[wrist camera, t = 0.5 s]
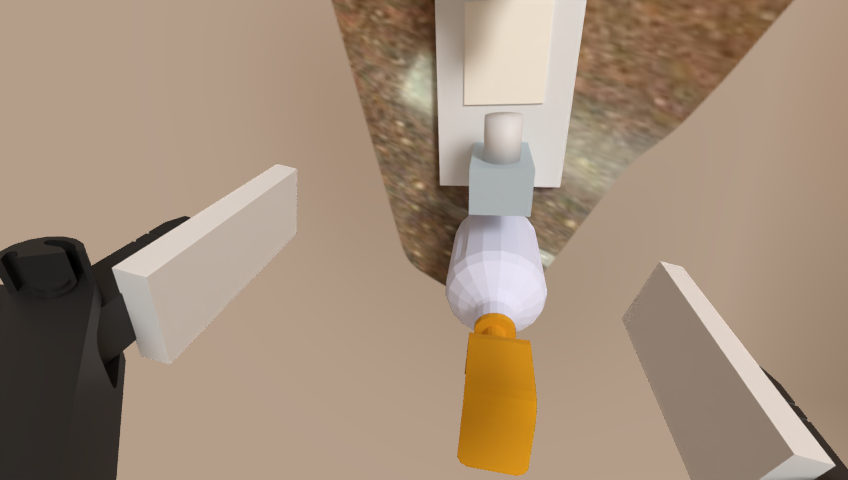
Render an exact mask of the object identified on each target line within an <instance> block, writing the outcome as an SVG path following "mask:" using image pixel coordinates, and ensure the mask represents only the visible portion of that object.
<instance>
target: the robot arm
mask: <svg viewBox="0 0 848 480" xmlns="http://www.w3.org/2000/svg"><path fill="white" fill-rule="evenodd" d="M296 233H297V169H294V168H291V167H286V166H283V165H279V164H276V165H275V166H273V167H271V168H270V169H268V170H267V171H265V172H264V173H262V174H260V175H259V176H257V177H255V178H254V179H252V180H251V181H249V182H248V183H246V184H244V185H243V186H241V187H240V188H238V189H236V190H235V191H233V192H232V193H230V194H228V195H227V196H225V197H224V198H222V199H220V200H219V201H217V202H216V203H214V204H213V205H211V206H209V207H208V208H206V209H205V210H203V211H202V212H200V213H198V214H197V215H195V216H193V217H192V218H190V217H187V216H184V217H180V218H178V219H174V220H171V221H168V222H165V223H163V224H162V225H160V226H158V227H156V228H155V229H153V230H151V231H150V232H149V234H145V235H143V236H141V237H140V238H138V239H137V240H136V242H131V243H129V244H128V245H126V246H124V247H123V248H121V249H119V250H117V251H116V252H114V253H112V254H111V255H109V256H107V257H106V258H104V259H102V260H101V261H99V262H97V263H96V264H94V265H92V266H91V263H90V261H89V258H88V256H87V253H86V250H85V247H84V244H83V243H81V242H80V241H78V240H77V239H73V238H68V237H43V238H37V239H31V240H27V241H24V242H21V243H18V244H14V245H12V246H10V247H8V248H6V249H4V250H2V251H0V278H1V280H2V282H3V283H4V285H0V480H116V476H117V462H118V450H119V437H120V425H121V412H122V399H123V386H124V373H125V361H126V360H125V357H124V353H123V350H124V349H125V348H127V347H128V346H129V345H130V344H131V343H133V342H134V341H135V340H136V342H137V345H138V348H139V351H140V354H141V356H142V357H146V358H149V359H153V360H156V361H160V362H163V363H167V364H171V363H172V362H173V361H174V360H175V359H176V358H177V357H178V356H179V355H180V354H181V353H182V352H183V351H184V350H185V349H186V348H187V347H188V345H190V343H191V342H192V341H193V340H194V339H195V338H196V337H197V336H198V335H199V334H200V333H201V332H202V331H203V330H204V329H205V328H206V327H207V326H208V325H209V324H210V323H211V322H212V321H213V320H214V319H215V318H216V316H217V315H218V314H219V313H220V312H221V311H222V310H223V309H224V308H225V307H226V306H227V305H228V304H229V303H230V302H231V301H232V300H233V299H234V298H235V297H236V296H237V295H238V293H240V292H241V291H242V289H243V288H244V287H245V286H246V285H247V284H248V283H249V282H250V281H251V280H252V279H253V278H254V277H255V276H256V275H257V274H258V273H259V272H260V271H261V270H262V269H263V268H264V267H265V265H267V264H268V263H269V261H270V260H271V259H272V258H273V257H274V256H275V255H276V254H277V253H278V252H279V251H280V250H281V249H282V248H283V247H284V246H285V245H286V244H287V243H288V242H289V241H290V240H291V239H292V238H293V237H294V236H295V234H296ZM622 320H623V322H624V325H625V327H626V329H627V332H628V334H629V336H630V339H631V341H632V343H633V346H634V348H635V350H636V353H637V355H638V357H639V359H640V362H641V364H642V367H643V369H644V371H645V373H646V376H647V378H648V381H649V383H650V385H651V387H652V390H653V392H654V394H655V397H656V399H657V402H658V404H659V406H660V409H661V411H662V413H663V416H664V418H665V420H666V422H667V425H668V427H669V429H670V432H671V434H672V436H673V439H674V441H675V443H676V446H677V448H678V450H679V453H680V455H681V457H682V460H683V462H684V464H685V467H686V469H687V471H688V474H689V476H690V478H691V480H848V469H847V468H846V466H845V465H844V464H843V463H842V461H841V460H840V459H839V457H838V456H837V455H836V454H835V452H834V451H833V450H832V449H831V447H830V446H829V445H828V444H827V442H826V441H825V440H824V439H823V437H822V436H821V435H820V433H819V432H818V431H817V430H816V429H815V427H814V426H813V425H812V423H811V422H808V421H807V417H806V416H805V415H804V413H803V412H802V411H801V410H800V408H799V407H798V406H795V402H794V401H793V400H792V398H791V397H790V396H789V394H788V393H787V392H786V391H785V389H784V388H783V387H782V386H781V384H780V383H778V382H777V381H776V380H775V379H774V378H773V377H772V376H771V375H769V374H768V373H767V372H766V371H765V370H764V369H763V368H761V367H760V366H758V364H757V363H756V362H755V360H754V359H753V358H752V356H751V355H750V354H749V353H748V351H747V350H746V349H745V347H744V346H743V345H742V344H741V342H740V341H739V340H738V338H737V337H736V336H735V334H734V333H733V332H732V331H731V329H730V328H729V327H728V325H727V324H726V323H725V322H724V320H723V319H722V318H721V316H720V315H719V314H718V313H717V311H716V310H715V309H714V307H713V306H712V305H711V304H710V302H709V301H708V300H707V298H706V297H705V296H704V294H703V293H702V292H701V291H700V289H699V288H698V287H697V285H696V284H695V283H694V281H693V280H692V279H691V278H690V276H689V275H688V274H687V272H686V271H685V270H684V269H683V267H681V266H677V265H673V264H668V263H665V262H661V261H660V262H659V264H658V265H657V267H656V268H655V270H654V271H653V273H652V274H651V276H650V277H649V279H648V280H647V282H646V283H645V285H644V286H643V288H642V289H641V291H640V292H639V294H638V295H637V297H636V298H635V300H634V301H633V303H632V304H631V306H630V307H629V309H628V310H627V312H626V313H625V315H624V316H623V318H622Z"/></svg>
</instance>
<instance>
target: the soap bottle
mask: <svg viewBox="0 0 848 480" xmlns="http://www.w3.org/2000/svg"><path fill="white" fill-rule="evenodd" d="M446 296H447V299H448V302H449V304H450V307H451V309H452V312H453V313H454V314H455V316H456V317H457V318H458V319H459V320H460V321H461V322H462V323H463V324H465V325H466V326H468V327H470V328H471V329H473V330H474V333H469V341H468V349H467V358H466V367H465V374H466V377H465V388H464V400H463V409H462V418H461V427H460V436H459V446H458V456H457V457H458V459H459V461H460V462H461V463H462V464H464V465H465V466H468V467H472V468H478V469H483V470H488V471H494V472H499V473H504V474H510V475H515V476H518V475H522V474H524V473H525V472H527V471H528V468H529V461H530V455H531V449H532V443H533V437H534V430H535V424H536V413H537V398H536V386H535V377H534V368H533V359H532V350H531V344H530V341H527V340H521V339H515V337H516V332H517V331H521V330H522V329H524V328H526V327H527V326H529V325H530V324H532V323H533V322H534V321H535V319H536V318H537V317H538V316H539V314H540V313H541V311H542V309H543V307H544V304H545V300H546V296H547V288H546V283H545V279H544V273H543V268H542V263H541V258H540V253H539V248H538V243H537V238H536V234H535V229H534V228H533V226H532V225H531V223H530V222H529V221H528V219H527V218H526V217H524V216H495V215H469V216H468V217H467V218H465V219H464V220H463V221H462V222H461V224H460V226H459V228H458V230H457V232H456V235H455V240H454V245H453V250H452V255H451V260H450V265H449V270H448V275H447V280H446Z"/></svg>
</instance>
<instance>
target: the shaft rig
mask: <svg viewBox="0 0 848 480" xmlns="http://www.w3.org/2000/svg"><path fill="white" fill-rule="evenodd" d="M585 7H586V0H435V22H436V58H437V94H438V129H439V165H440V185H446V186H469V215H495V216H529V217H530V216H531V207H532V197H533V188H534V187H560V183H561V176H562V169H563V162H564V155H565V148H566V141H567V134H568V127H569V120H570V113H571V106H572V99H573V92H574V85H575V78H576V71H577V64H578V57H579V50H580V43H581V36H582V29H583V22H584V14H585Z"/></svg>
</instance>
